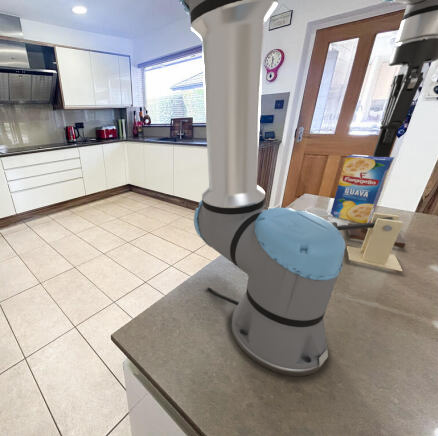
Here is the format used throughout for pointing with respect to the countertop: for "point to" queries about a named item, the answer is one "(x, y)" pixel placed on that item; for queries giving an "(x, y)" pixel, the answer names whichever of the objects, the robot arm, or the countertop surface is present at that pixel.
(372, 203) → the beverage box
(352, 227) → the lever
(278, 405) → the countertop surface
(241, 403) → the countertop surface
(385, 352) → the countertop surface
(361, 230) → the control block
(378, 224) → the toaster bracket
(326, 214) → the teacup
